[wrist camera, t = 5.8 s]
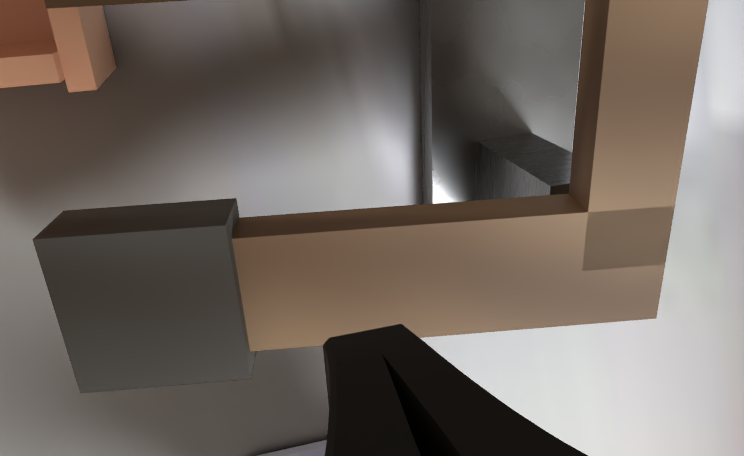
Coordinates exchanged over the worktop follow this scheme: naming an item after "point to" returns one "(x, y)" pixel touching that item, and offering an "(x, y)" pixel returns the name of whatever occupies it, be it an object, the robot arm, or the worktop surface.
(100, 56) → the open box
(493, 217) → the wooden tray
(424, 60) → the stand
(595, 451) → the worktop surface
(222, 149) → the worktop surface
